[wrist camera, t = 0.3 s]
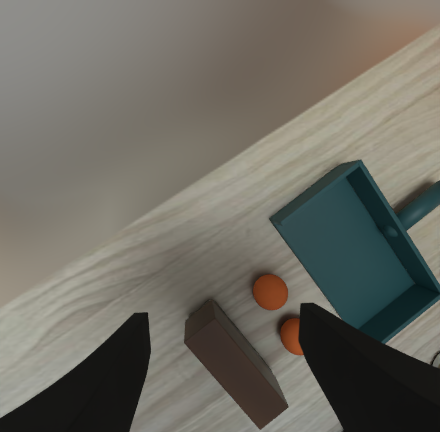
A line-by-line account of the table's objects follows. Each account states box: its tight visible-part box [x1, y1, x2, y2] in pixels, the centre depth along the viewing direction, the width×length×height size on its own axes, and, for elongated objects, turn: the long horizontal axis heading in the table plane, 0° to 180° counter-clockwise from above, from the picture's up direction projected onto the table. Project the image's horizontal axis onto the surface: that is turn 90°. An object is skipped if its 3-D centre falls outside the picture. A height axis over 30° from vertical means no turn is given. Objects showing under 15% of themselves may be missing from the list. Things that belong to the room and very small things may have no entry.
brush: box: [184, 300, 288, 430], centre depth 20 cm, size 3×10×4 cm, turn 37°
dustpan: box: [269, 160, 440, 344], centre depth 21 cm, size 15×15×3 cm
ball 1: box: [253, 274, 288, 310], centre depth 21 cm, size 3×3×3 cm
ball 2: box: [280, 318, 304, 355], centre depth 21 cm, size 3×3×3 cm
